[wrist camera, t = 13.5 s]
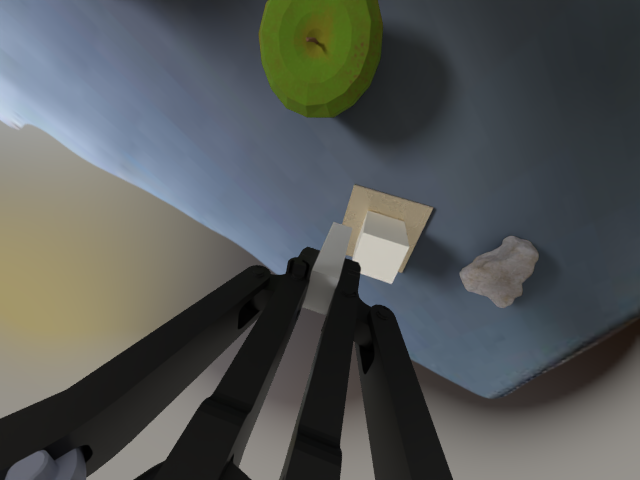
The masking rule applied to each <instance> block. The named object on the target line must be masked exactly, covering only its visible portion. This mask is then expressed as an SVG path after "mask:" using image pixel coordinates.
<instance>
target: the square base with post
mask: <svg viewBox="0 0 640 480" xmlns="http://www.w3.org/2000/svg"><path fill="white" fill-rule="evenodd" d="M432 210H433V207H431V206H428V205H425V204H421V203H418V202H414V201H411V200H408V199H404V198H401V197H397V196H394V195H391V194H387V193H384V192H380V191H377V190H374V189H370V188H367V187H363V186H360V185H357V184H354V187H353V191H352V194H351V197H350V201H349V204H348V207H347V211H346V214H345V217H344V220H343V224H342V225H345V226H348V227H351V228H352V232H351V236H350V240H349V243H348V247H347V251H346V255H349V256H352V257H353V254H354V250H355V246H356V242H357V239H358V236H359V233H360V231H361V228H362V225H363V222H364V219H365V216H366V214H367V211H371V212H375V213H378V214H381V215H384V216H388V217H391V218H394V219H397V220H401V221H404V222H405V227H406V232H407V238H408V243H409V249H408V251H407V253H406V255H405V257H404V259H403V261H402V264H401V266H400V268H399V270H398V272H401V273H402V271H403V269H404V267H405V265H406V263H407V261H408V259H409V257H410V255H411V253H412V251H413V249H414V247H415V245H416V243H417V241H418V239H419V237H420V234H421V232H422V230H423V228H424V226H425V224H426V222H427V220H428V218H429V216H430V214H431V212H432Z"/></svg>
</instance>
